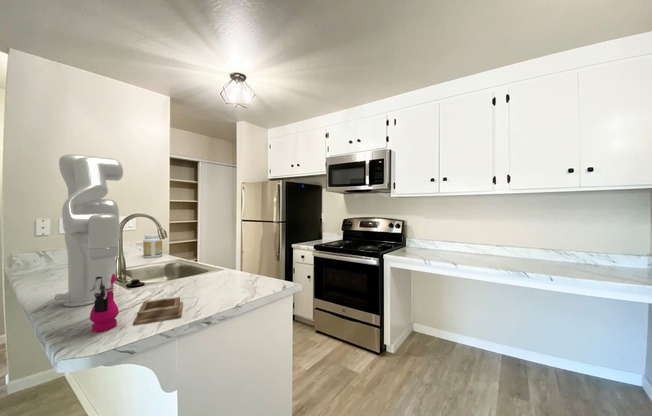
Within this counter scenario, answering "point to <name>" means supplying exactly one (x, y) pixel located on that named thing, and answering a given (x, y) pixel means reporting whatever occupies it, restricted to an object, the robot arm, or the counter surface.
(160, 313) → the wooden tray
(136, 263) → the counter surface
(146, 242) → the supplement tub
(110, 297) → the pepper mill
